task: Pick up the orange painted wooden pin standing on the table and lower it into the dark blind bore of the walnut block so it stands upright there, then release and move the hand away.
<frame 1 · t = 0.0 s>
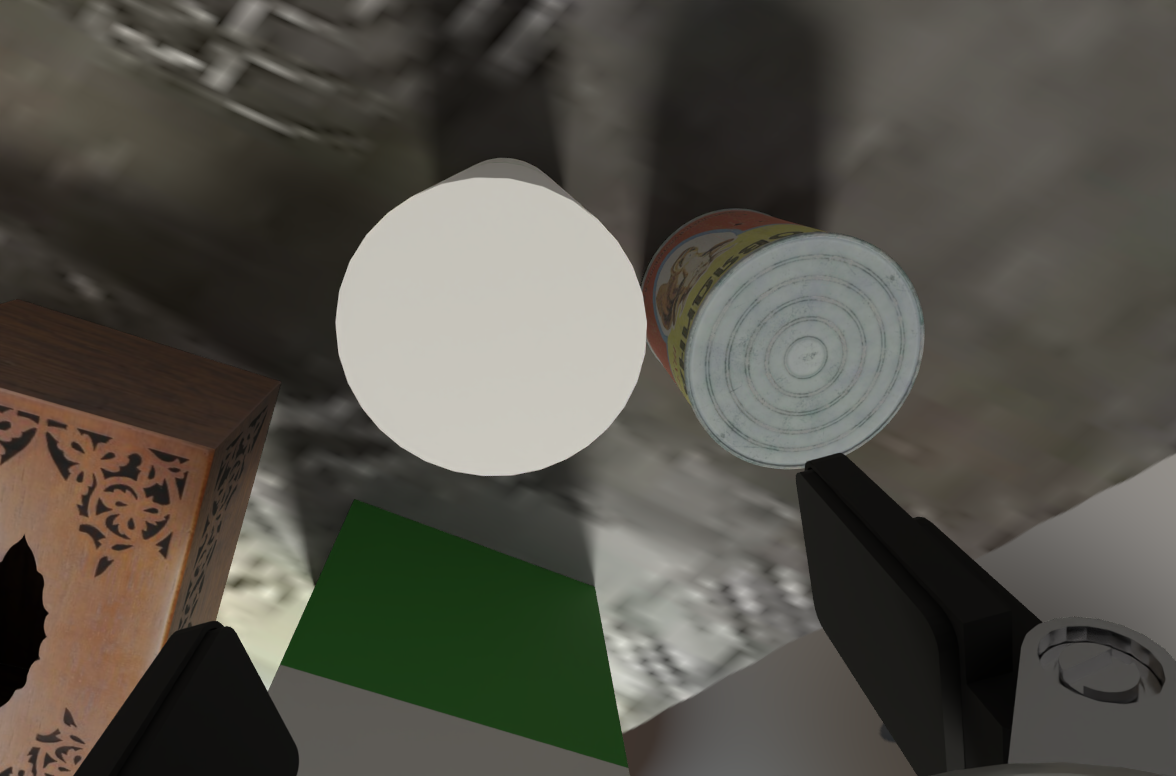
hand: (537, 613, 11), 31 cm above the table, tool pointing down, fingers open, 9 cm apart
hardback book: (458, 585, 47), on the table
cylindrical container: (505, 222, 39), on the table
tissue box cover: (119, 522, 43), on the table
canned food: (727, 300, 42), on the table
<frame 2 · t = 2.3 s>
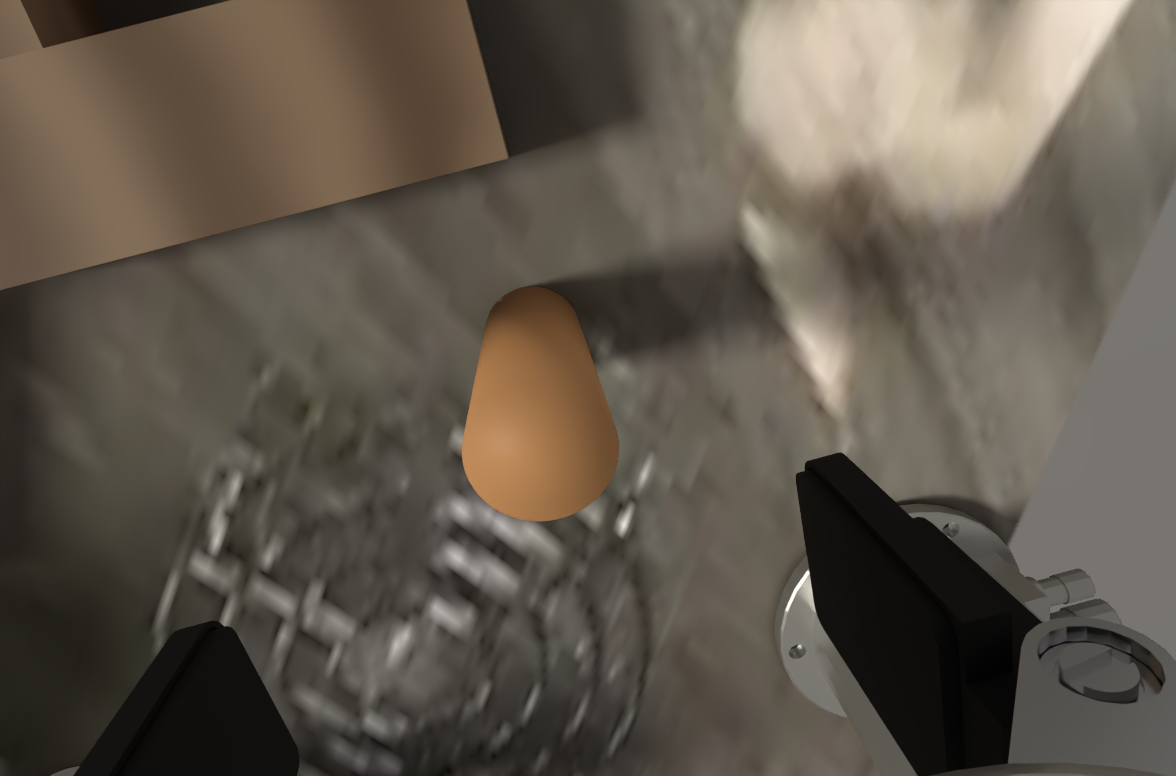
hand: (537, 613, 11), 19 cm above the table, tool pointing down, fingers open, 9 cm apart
pin: (533, 333, 29), on the table
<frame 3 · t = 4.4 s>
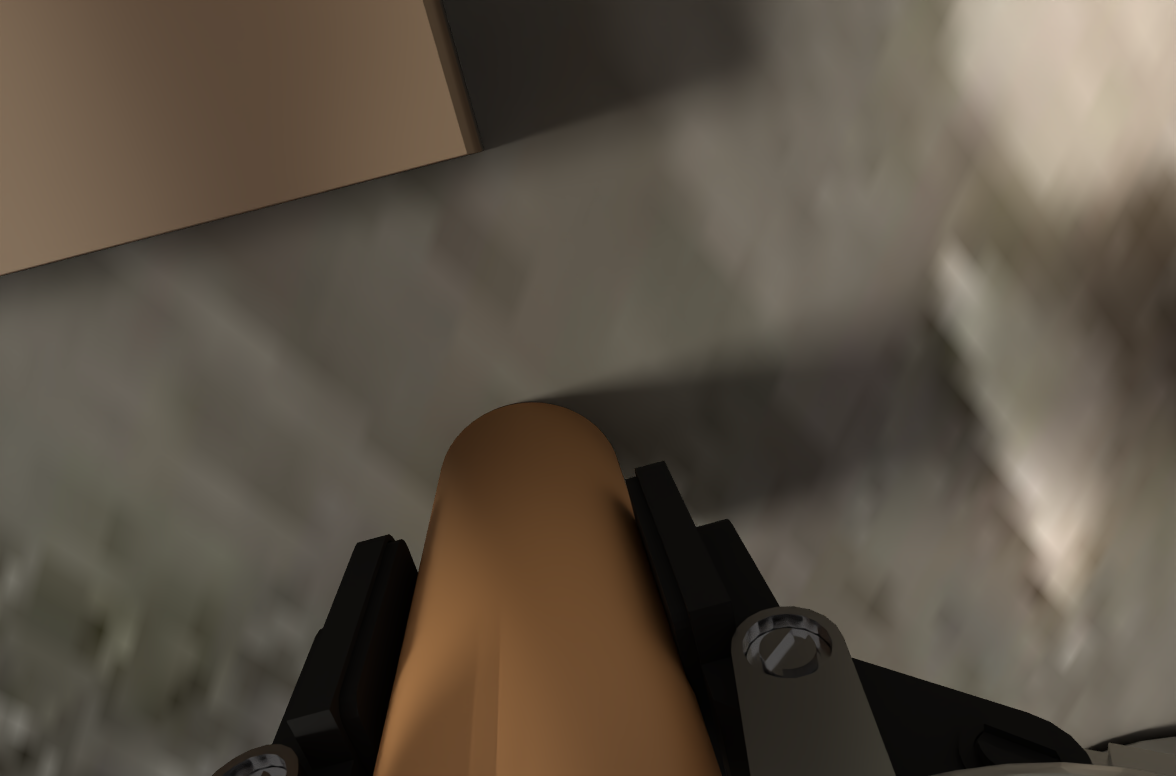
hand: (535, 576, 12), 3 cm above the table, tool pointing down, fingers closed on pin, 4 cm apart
pin: (531, 486, 15), on the table, touching gripper
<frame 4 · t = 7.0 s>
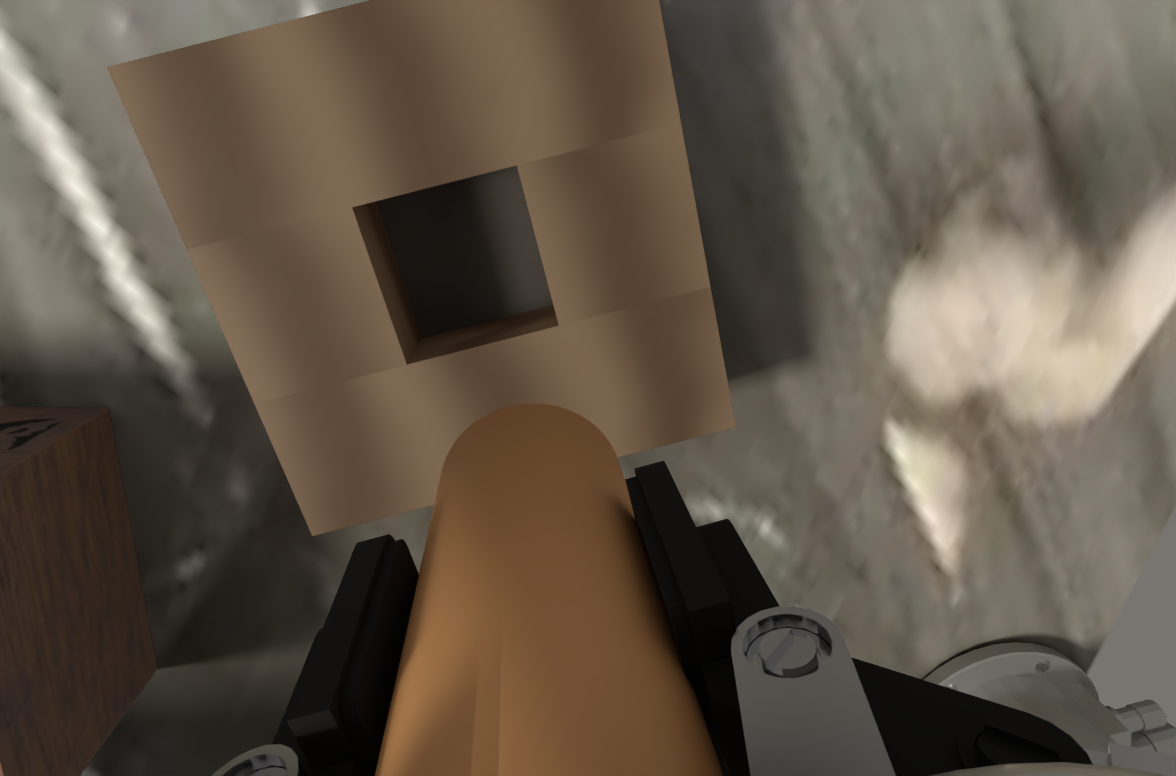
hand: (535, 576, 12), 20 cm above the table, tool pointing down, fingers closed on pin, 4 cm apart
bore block: (470, 251, 30), on the table
pin: (532, 488, 15), point 17 cm above the table, touching gripper
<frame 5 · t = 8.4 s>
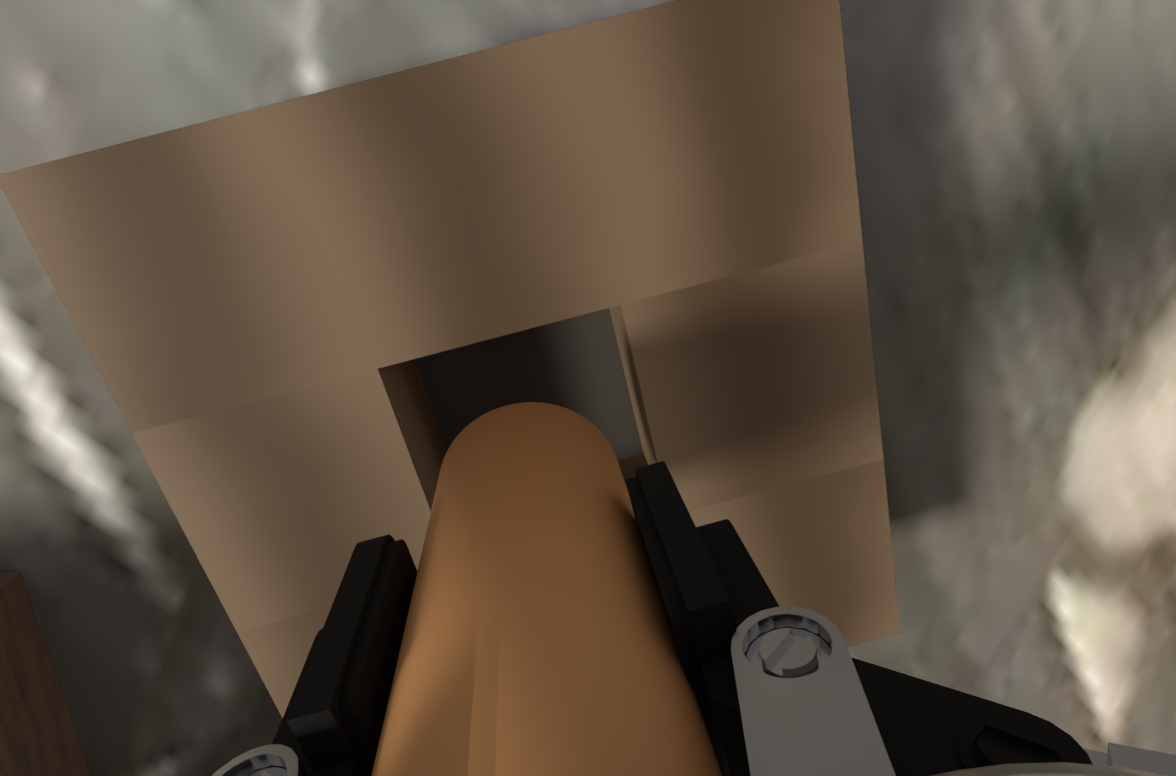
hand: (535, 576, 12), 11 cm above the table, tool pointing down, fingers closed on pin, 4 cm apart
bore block: (529, 383, 22), on the table
pin: (530, 486, 15), point 7 cm above the table, touching gripper
when the fingers open (6 cm above the table, at t = 9.8 s): pin drops 1 cm, resting on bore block.
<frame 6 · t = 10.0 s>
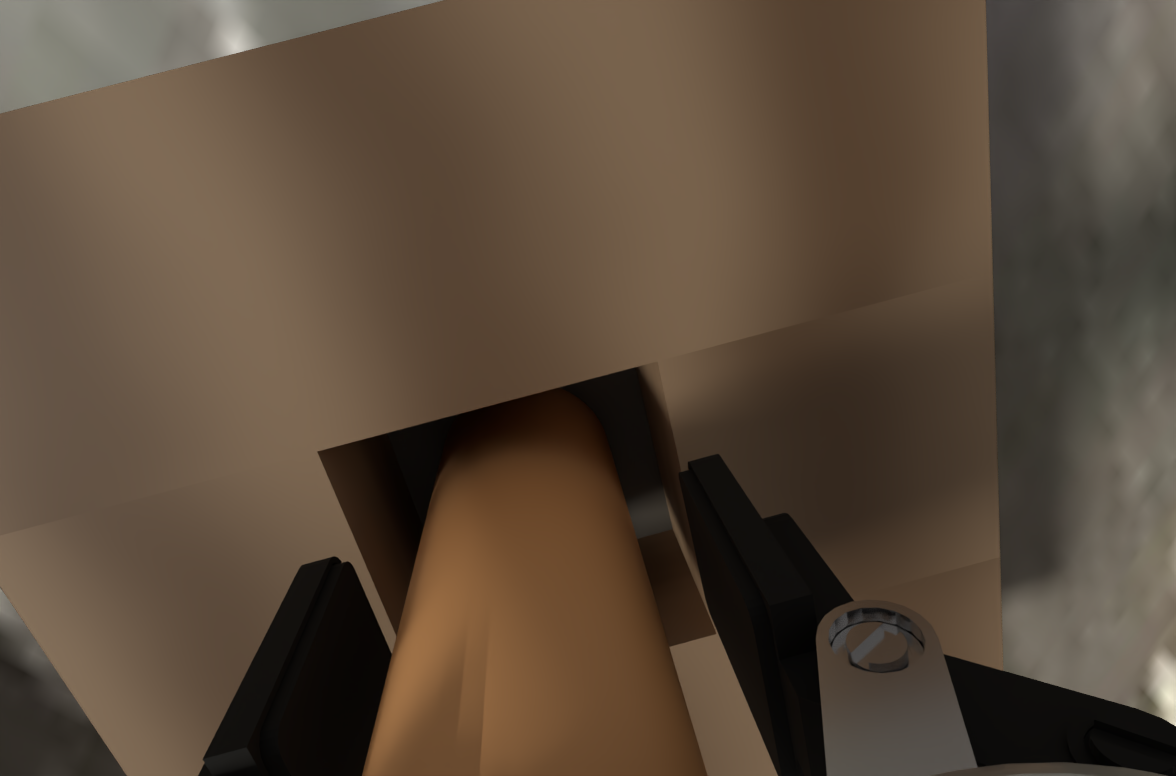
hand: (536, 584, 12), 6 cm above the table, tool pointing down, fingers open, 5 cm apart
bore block: (528, 441, 17), on the table
pin: (527, 460, 16), point 1 cm above the table, touching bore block
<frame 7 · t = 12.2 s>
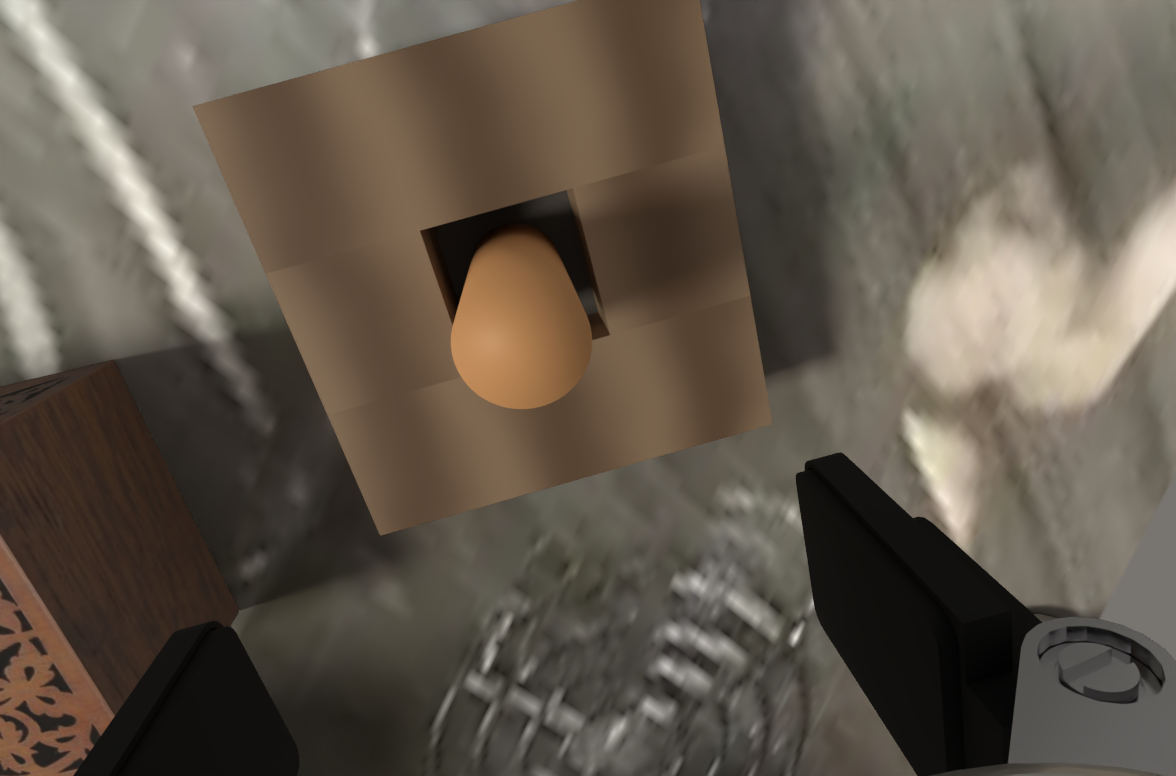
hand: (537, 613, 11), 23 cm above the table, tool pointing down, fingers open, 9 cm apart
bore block: (517, 263, 31), on the table
pin: (516, 268, 30), point 1 cm above the table, touching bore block
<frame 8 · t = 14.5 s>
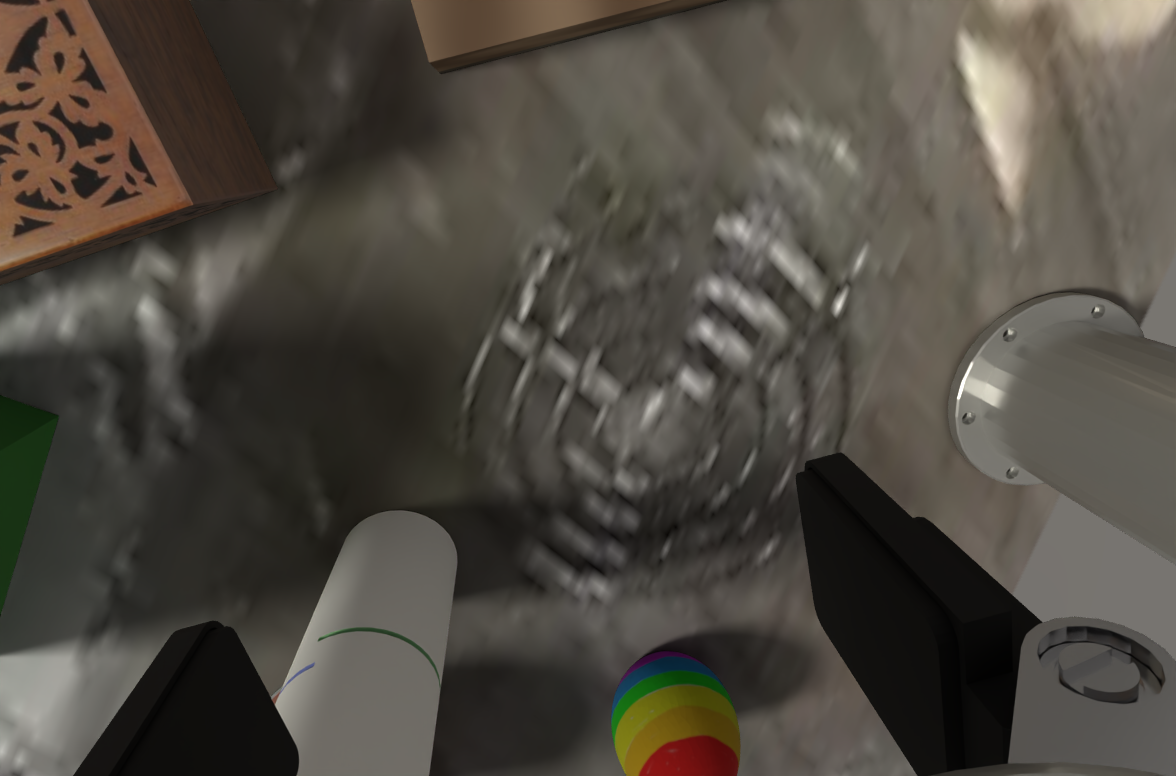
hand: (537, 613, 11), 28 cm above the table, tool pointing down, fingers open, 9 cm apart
cylindrical container: (400, 558, 43), on the table
decorative egg: (661, 679, 48), on the table
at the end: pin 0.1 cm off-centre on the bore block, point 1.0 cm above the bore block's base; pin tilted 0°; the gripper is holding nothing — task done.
